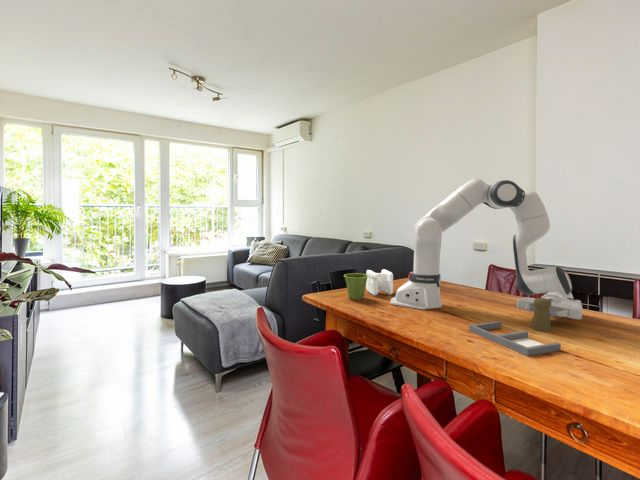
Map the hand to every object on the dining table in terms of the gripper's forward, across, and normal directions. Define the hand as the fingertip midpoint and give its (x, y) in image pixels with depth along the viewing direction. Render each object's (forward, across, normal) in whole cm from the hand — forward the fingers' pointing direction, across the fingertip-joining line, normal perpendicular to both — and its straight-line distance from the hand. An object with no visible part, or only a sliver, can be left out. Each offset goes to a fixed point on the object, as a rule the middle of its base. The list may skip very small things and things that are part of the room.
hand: (542, 311), depth 121 cm
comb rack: (+20, -3, +6) cm, 21 cm away
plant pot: (+16, -74, +6) cm, 76 cm away
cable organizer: (-1, -72, +6) cm, 73 cm away
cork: (+2, 0, +6) cm, 6 cm away
